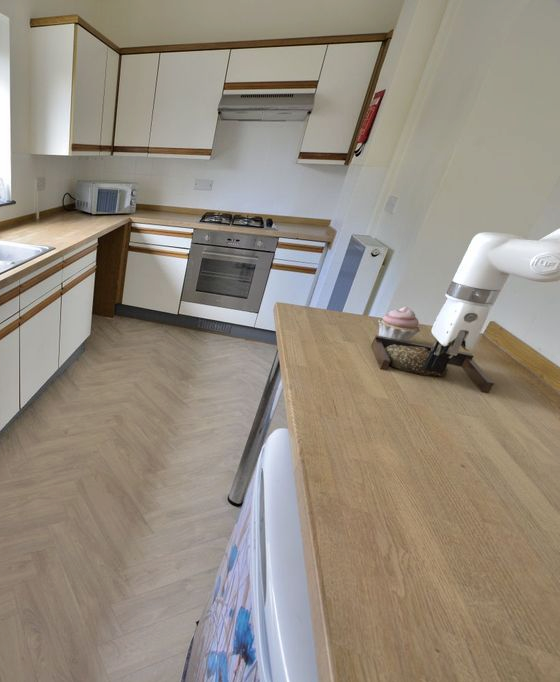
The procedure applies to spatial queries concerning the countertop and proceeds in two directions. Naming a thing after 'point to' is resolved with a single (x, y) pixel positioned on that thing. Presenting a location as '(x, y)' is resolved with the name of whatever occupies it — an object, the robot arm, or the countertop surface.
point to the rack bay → (460, 359)
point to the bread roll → (411, 359)
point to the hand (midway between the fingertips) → (432, 370)
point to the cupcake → (399, 324)
